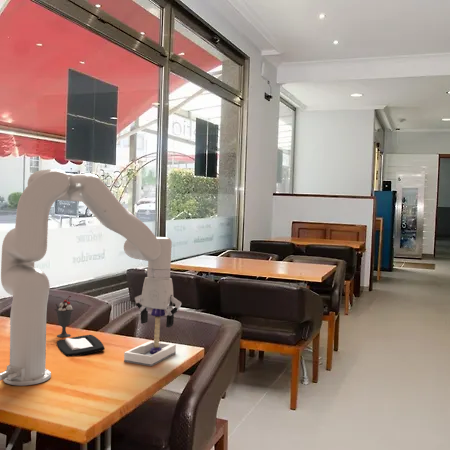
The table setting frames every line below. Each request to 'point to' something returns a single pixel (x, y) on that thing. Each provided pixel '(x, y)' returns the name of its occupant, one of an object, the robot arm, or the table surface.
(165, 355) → the white rimmed dish
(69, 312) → the sundae
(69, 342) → the light switch
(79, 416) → the table surface
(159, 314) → the toy lamp
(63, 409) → the table surface
